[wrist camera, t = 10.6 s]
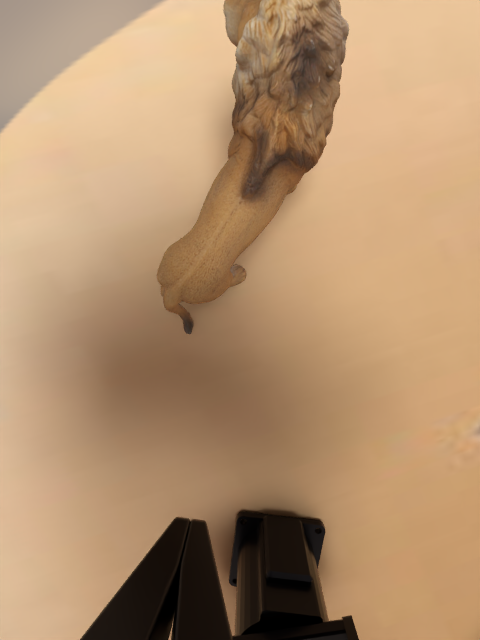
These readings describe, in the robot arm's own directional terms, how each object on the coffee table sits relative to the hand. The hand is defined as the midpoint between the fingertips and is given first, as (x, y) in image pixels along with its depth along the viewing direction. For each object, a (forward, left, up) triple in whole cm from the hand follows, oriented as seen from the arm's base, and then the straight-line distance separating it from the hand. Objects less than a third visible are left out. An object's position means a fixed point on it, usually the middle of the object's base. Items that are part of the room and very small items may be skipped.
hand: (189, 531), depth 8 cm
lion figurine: (+10, 0, -12) cm, 16 cm away
